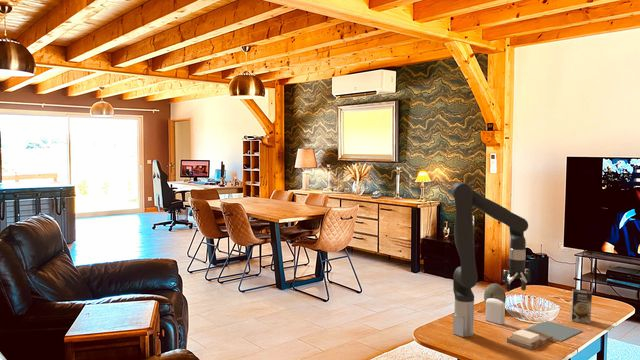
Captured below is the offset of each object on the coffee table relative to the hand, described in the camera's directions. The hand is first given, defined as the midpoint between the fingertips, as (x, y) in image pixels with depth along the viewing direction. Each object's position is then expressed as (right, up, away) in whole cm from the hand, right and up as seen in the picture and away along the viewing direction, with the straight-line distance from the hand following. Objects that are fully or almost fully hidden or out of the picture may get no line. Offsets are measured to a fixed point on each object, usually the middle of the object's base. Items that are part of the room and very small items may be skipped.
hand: (515, 290), depth 253 cm
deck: (+5, -23, -5) cm, 24 cm away
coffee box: (+44, -21, +24) cm, 54 cm away
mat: (+22, -22, +9) cm, 33 cm away
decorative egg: (+4, -20, +42) cm, 47 cm away
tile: (+2, -21, -7) cm, 23 cm away
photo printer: (-3, -21, +21) cm, 30 cm away
